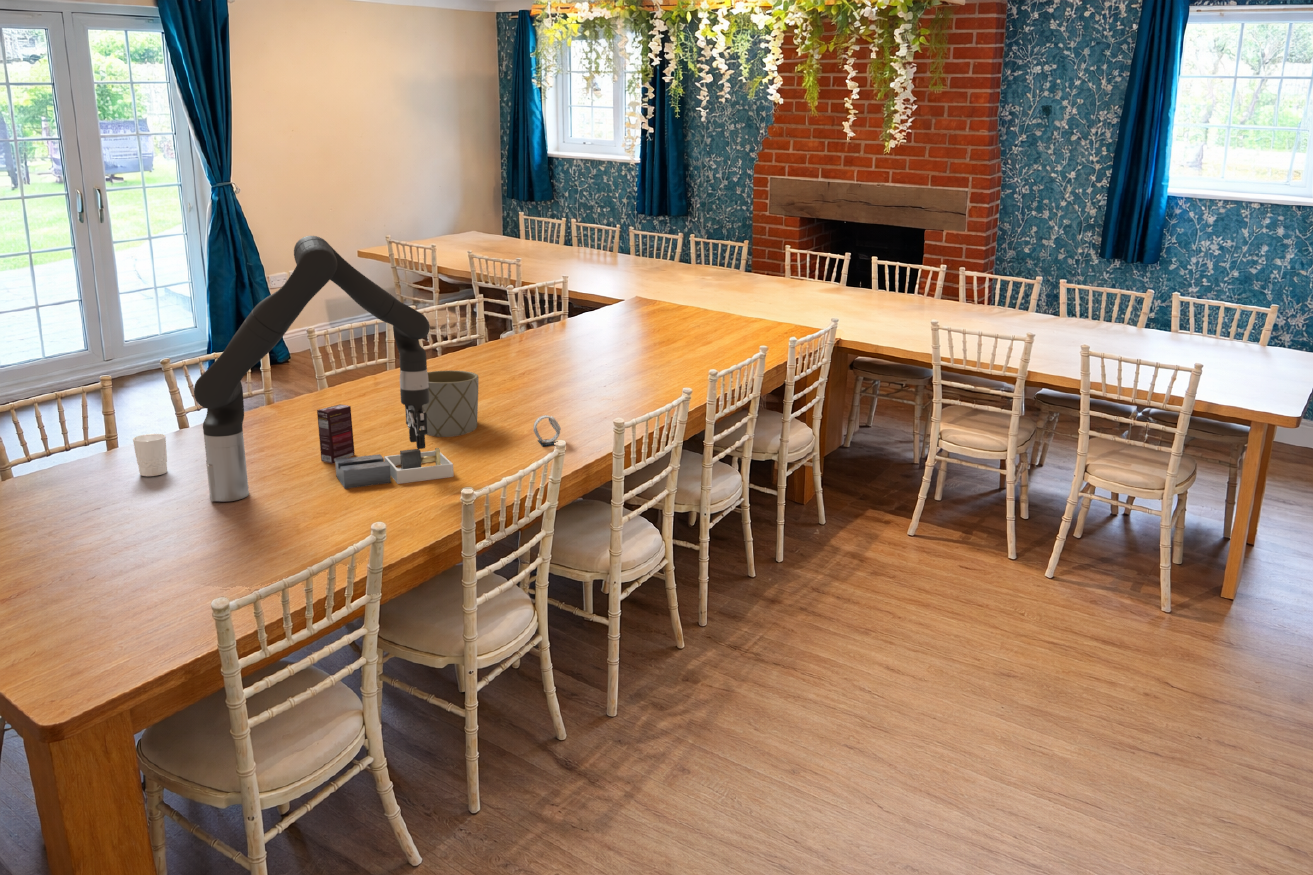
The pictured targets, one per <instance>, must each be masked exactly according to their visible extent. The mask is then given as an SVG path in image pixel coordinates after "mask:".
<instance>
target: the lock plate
mask: <svg viewBox="0 0 1313 875" xmlns="http://www.w3.org/2000/svg"><path fill="white" fill-rule="evenodd" d="M334 465H335V474H336V475H335V476H336V478H337V479H338V481H339V483H340V484H341V486H342V487H343V489H353V488H361V487H368V486H376V485H377V486H378V485H385V484H392V481H391V480H392V477H391V475H390V465H389V464H388V463H387V462H386V461H384V456H382V455H381V454H371V455H362V456H353V457H352V456H351V457H348V458H343V459H335V463H334Z"/></svg>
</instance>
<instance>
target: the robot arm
mask: <svg viewBox="0 0 1313 875" xmlns="http://www.w3.org/2000/svg"><path fill="white" fill-rule="evenodd" d="M293 256H294V262H295V263H296V266H295V267H294V270H293V272H292V273H291V274H290V276H289V277H288V279H287V280H286V281H285V283H284V284H283V285H282V286H281V287H280V288H279V289H278V290H276V291H275V292H274V293H271V294H270V295H268V296H267V297H265V298H264V299H262V300H261V301H260V302H258V303H257V304H256V305H255V307H254V308H253V309H252V310H251V312H249V314H248V315H247V316H246V318H245V319H244V321H243V322H242V324H241V325H240V327H239V328H238V330H237V331H236V332H235V334H234V335H233V336H232V338H231V340H230V341H229V342H228V344H227V346H226V347H225V349H224V350H223V351H222V353H221V354H220V355H219V357H217V358H216V360H215V361H214V362H213V363H211V365H210V366H209V367H208V369H206V370H205V371H204V372H202V374H201V375H200V376H199V377H198V378H197V380H196V381H195V384H194V388H193V396H194V398H195V401H196V403H197V404H198V405H199V406H200V407H201V408H204V409H206V414H205V416H206V417H205V419H204V421H203V423H202V429H203V430H202V432H203V439H204V450H205V458H206V460H205V462H206V473H207V482H208V491H209V498H210V502H233V501H238V500H239V501H240V500H241V499H242V500H243V499H245V498H247V497H248V496H249V495H250V490H249V482H248V481H249V480H248V470H247V469H248V468H247V460H246V451H245V438H244V429H243V423H244V418H245V406H244V403H245V402H244V389H243V385H242V382H241V381H242V379H243V378H244V377H245V376H246V374H247V373H248V372H249V371H250V370H251V369H252V368H253V367H254V366H255V365H257V364H258V363H259V362H261V360H262V359H264V357H265V356H267V354H269V353H270V352H271V351H272V350H273V349H274V347H275V346H276V345H277V344H278V343H279V342H280V341H281V339H282V338H283V337H284V335H285V334H286V333H287V332H288V330H289V328H291V326H292V325H293V324H294V322H295V321H296V319H298V317H299V316H300V314H301V313H302V311H304V309H305V307H306V306H307V305H308V304H309V302H310V301H311V300H312V299H313V298H314V297H315V296H316V295H317V294H318V293H319V292H320V291H321V290H322V289H323V288H324V287H325V286H326V285H327V284H328V283H329V282H333V283H334V284H335V285H336V286H337V287H339V288H340V289H341V290H342V291H343V292H345V294H346V295H348V296H349V297H350V298H351V299H352V300H353V302H355V303H356V304H358V305H359V306H360V307H361V308H362V309H363V310H365V311H367V312H368V313H369V314H371V315H372V316H373V317H375V318H377V319H378V320H379V321H382V322H384V323H387V324H389V325H391V326H392V329H393V330H392V331H393V336H394V339H395V344H396V348H397V352H398V354H399V388H400V390H399V391H400V402H401V404H402V405H403V406H404V409H405V410H404V411H405V424H406V426H407V429H408V432H409V433H408V434H409V435H408V436H409V442H411V443H416V449H419V450H422V449H423V450H424V449H426V437H425V436H426V435H427V433H428V432H427V414H426V413H425V412H424V410H423V408H422V406H423V405H424V404H427V403H429V381H428V373H427V372H428V367H427V366H428V364H427V353H426V350H425V348H424V347H422V346H421V344H420V340H423V339H425V338H426V337H427V336H428V335H429V333H430V328H431V327H430V322H429V320H428V319H427V317H426V316H425V315H424V314H423V313H421V312H420V311H419V310H417V309H415V308H413V307H411V306H410V305H408V304H405V303H404V302H402V301H400V300H399V299H398V298H396V297H395V296H393V295H392V294H391V293H389V292H388V291H386V290H385V289H384V288H383V287H381V286H379V285H378V284H377V283H375V282H374V281H372V280H371V279H370V278H368V277H367V276H365V274H363V273H361V272H360V271H358V269H356V268H355V267H354V266H353V265H351V264H350V263H349V262H348V261H347V260H345V259H344V257H342V255H340V254H339V253H338V251H336V249H334V248H333V246H331V244H329V242H328V241H326V240H325V239H324V238H322V237H319V236H317V235H307V236H303V237H302V238H299V240H298V241H297V242H296V243H295V245H294V248H293ZM420 427H421V428H422V430H420Z"/></svg>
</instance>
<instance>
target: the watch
mask: <svg viewBox="0 0 1313 875" xmlns="http://www.w3.org/2000/svg"><path fill="white" fill-rule="evenodd" d="M545 419H548V422H549V424H550V425H551V427H552V428H553V430H554V431H555V432H556V433H555V434H554V436H553V437H552V438H550V439H548V438H547V439H543V438H542V437H541V435H540V433H539V430H538V424H539V423H540V422H541V421H542V420H545ZM561 429H562V428H561V426H560V423H558V421H557V420H556V418H555V417H554V416H553V415H551V416H550V415H547V414H546V415H540V416H538V417H537V418H536V419H535V421H534V423H533V432H534V435H535V436H536V438H537V442H538V443H539V444H540V446H541V447H542V448H545V447H553V446H555V445H554V442H556V440H557V439H558V438H559V437H560V434H561Z"/></svg>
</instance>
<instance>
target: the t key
mask: <svg viewBox="0 0 1313 875" xmlns="http://www.w3.org/2000/svg"><path fill="white" fill-rule="evenodd" d="M434 451H435V456H427V457H421V452H422V451H421V449H418V448H413V449H404V450H399V455H400V459H401V465H400V468H401V470H403V469H411V468H419V467H422V464H424V463H431V462H435V466H436V465H442V464H441V463H440V453H441V448H440V447H435V448H434Z"/></svg>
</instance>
